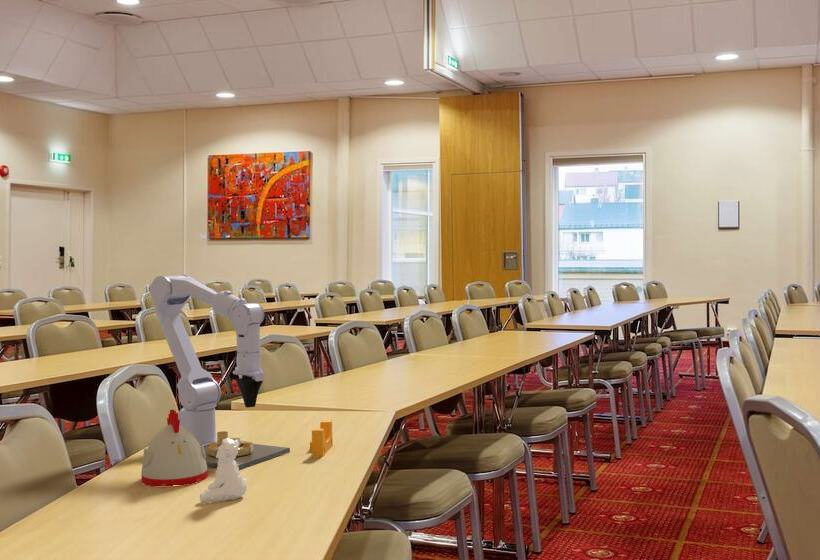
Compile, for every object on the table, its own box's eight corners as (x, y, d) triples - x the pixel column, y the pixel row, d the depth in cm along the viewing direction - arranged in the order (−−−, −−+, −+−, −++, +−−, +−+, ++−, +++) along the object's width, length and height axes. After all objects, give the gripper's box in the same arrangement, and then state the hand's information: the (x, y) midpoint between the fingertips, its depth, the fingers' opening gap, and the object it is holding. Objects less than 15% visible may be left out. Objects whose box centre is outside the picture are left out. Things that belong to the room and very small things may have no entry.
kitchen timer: (148, 490, 189) (146, 418, 189) (135, 476, 201) (133, 408, 201) (215, 481, 196) (213, 411, 195) (198, 468, 208) (196, 402, 207)
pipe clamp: (315, 446, 229) (314, 420, 228) (332, 446, 228) (332, 420, 228) (305, 457, 217) (304, 430, 216) (323, 457, 216) (322, 430, 216)
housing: (169, 461, 214) (168, 444, 214) (225, 444, 231) (225, 428, 231) (236, 470, 204) (236, 452, 204) (289, 451, 222) (289, 435, 222)
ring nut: (237, 445, 225) (236, 421, 225) (261, 451, 218) (260, 427, 217) (199, 452, 218) (198, 428, 218) (222, 459, 210) (221, 434, 210)
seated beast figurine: (210, 491, 188) (208, 433, 187) (251, 490, 187) (250, 432, 187) (198, 504, 178) (196, 443, 178) (242, 503, 178) (240, 442, 177)
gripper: (222, 350, 229) (224, 404, 230) (244, 356, 217) (245, 412, 218) (249, 348, 233) (250, 401, 234) (271, 353, 221) (273, 409, 221)
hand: (250, 406), depth 226 cm, fingers closed
